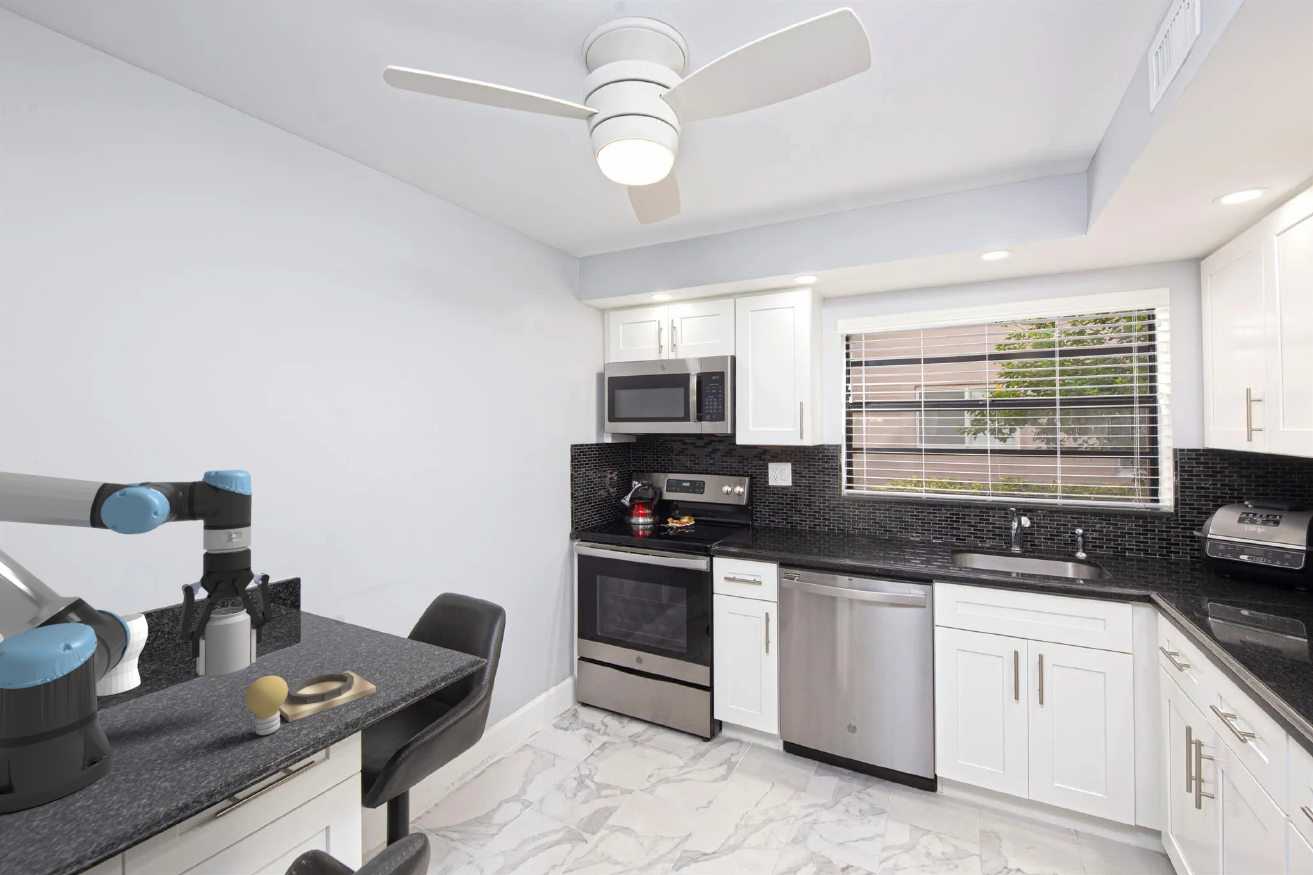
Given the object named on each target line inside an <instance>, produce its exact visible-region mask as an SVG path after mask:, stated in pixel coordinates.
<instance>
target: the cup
mask: <svg viewBox="0 0 1313 875" xmlns="http://www.w3.org/2000/svg"><path fill="white" fill-rule="evenodd" d="M118 615H119V616H120V617H121V618H123V620H124V621H125V622H126V623H127V625H128V627H129V630H130V644H129V647H128V649H127V651H126V653H125V655H124V657H123V658H122V660H121V661H120V662H119V664H118V665H117V666H116V667H115V668H113V669H112V670H111V671H110V672H108V673H107V674H106V675H105V676H104V677H103V678H102V679H101V680H100V681H99V682H98V683H97V697H105V696H110V695H111V696H112V695H116V694H120V693H124V692H127V691H130V690H132V689H134V688H137V687H139V686H140V684H141V678H140V674H139V668H138V663H139V656H140V654H141V652H142V651H143V650H144V647H145V644H146V642H147V638H148V637H149V636H148V635H149V631H148V630H149V626H148V622H147V620H146V616H145V614H143V613H139V612H138V613H134V612H133V613H122V614H118Z"/></svg>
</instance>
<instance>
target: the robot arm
mask: <svg viewBox="0 0 1313 875" xmlns="http://www.w3.org/2000/svg"><path fill="white" fill-rule="evenodd" d="M252 496H253V492H252V480H251V474H250V473H249V471H246V470H242V469H224V470H207V471H205V472H204V473H203V478H202V480H195V481H158V482H157V481H156V482H155V481H154V482H152V481H144V482H143V481H141V482H136V483H135V482H134V483H133V482H132V483H126V484H125V483H115V482H113V483H112V482H105V481H95V480H94V481H93V480H83V479H75V478H65V477H55V476H45V475H36V474H35V475H34V474H27V473H26V474H25V473H17V472H7V471H0V522H5V523H6V522H7V523H22V524H34V525H35V524H36V525H49V526H63V527H75V528H76V527H77V528H79V527H80V528H92V529H100V530H111V531H113V532H116V533H117V534H123V535H140V534H146V533H148V532H151V531H153V530H155V529H157V528H159V526H162V525H164V524H166V523H175V522H176V523H177V522H189V521H191V522H192V521H193V522H194V521H195V522H197V521H203V529H202V531H203V536H202V537H203V538H202V539H203V542H202V546H203V547H202V549H203V550H205V552H204V553H203V554H202V576H201V578H200V580H199V581H197V582H193V583H190V584H188V583H185V584H183V585H182V586H181V590H182V591H181V592H182V593H183V602H182V607H181V610H180V611H181V612H180V617H179V624H178V628H177V634H176V635H177V637H178V638H179V640H181V641H189V655H190V657H191V658H192V659H196V673H197V674H198V675H199V676H206V675H205V639H204V638H203V631H204V628H205V626H206V624H207V622H208V620H209V618H210V615H211V613H212V611H214V609H215V607H216V606H217V604H218V602H219V601H220V600H224V599H226V598H238V600H239V602H240V604H241V607H244V608H246V609H247V610H246V612H247V613H248V614H249V615H250V618H251V621H250V624H252V626H250V664H254V663H257V645H258V644H261V643H262V638H263V637H262V635H263V628H264V626H265V625H266V624H269V623H272V622H273V621H274V617H273V612H272V605H271V599H270V594H269V593H270V592H269V587H268V586H269V581H270V575H269V574H267V573H265V572H261V573H254V572H253V570H252V549H251V548H249V547H251V545H252V499H253V498H252ZM253 580H254V581H253ZM252 581H253V582H254V584H255V585H256V588H257V593H258V601H259V605H260V611H261V617H260V616H259V614H258V612H257V611H256V608H255V606H254V604H253V602H252V601H251V599H250V596H249V594H248V592H247V590H246V588H247V587H249V585H250V584H251V582H252ZM201 588H202V589H203V590H204V591H206V593H207V595H206V597H205V600H204V603H203V605H202V607H201V609H200V612H199V614H198V617H197V618H196V620H195V622H194V625H193V627H192V629H191V631H190V628H191V623H192V618H193V612H194V607H195V602H196V601H195V600H196V599H195V596H196V595H198V594H199V590H200V589H201ZM119 615H120V614H117V613H115V612H112V611H109V610H105V609H95V607H93V606H92V605H91V604H89V603H88V602H87V601H86V600H84V599H83V598H81V597H80V596H62V595H60V594H58V593H57V592H56V591H55V590H53V589H52V588H51V587H50V586H48V585H47V584H46V583H44V581H42V580H41V579H39V578H38V577H36V575H34V574H33V573H32V572H30V571H29V570H28V569H27V568H26V567H24V566H23V565H21V564H20V563H19V562H18V561H16V560H15V559H13V558H12V557H11V556H10V555H9V554H7V553H6V552H5V551H3V549H1V548H0V635H1V636H2V638H3V640H2V641H0V814H3V813H5V814H6V813H11V812H12V813H13V812H17V811H21V810H25V809H29V808H33V807H36V806H40V805H43V804H47V803H49V802H53V801H55V800H58V799H60V798H64V797H66V796H68V795H70V794H73V793H75V792H79V791H80V790H83V789H84V788H86V787H87V786H89V785H91V784H93V783H95V782H97V781H98V780H100V779H101V778H102V777H104V776H105V775H106V774H107V773H108V772H109V771H111V769H112V768H113V766H114V750H113V747H112V745H111V743H110V742H109V739H108V737H107V735H106V734H105V732H104V730H103V728H102V726H101V724H100V722H99V720H98V696H97V683H98V682H99V681H100V680H101V679H102V678H103V677H104V676H105V675H106V674H107V673H108V672H110V671H111V670H112V669H113V668H115V667H116V666H117V665H118V664H119V662H120V661H121V660H122V658H123V657H124V655H125V653H126V651H127V649H128V647H129V644H130V630H129V627H128V625H127V623H126V622H125V621H124V620H123V618H121V617H120V616H119Z"/></svg>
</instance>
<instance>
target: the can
mask: <svg viewBox="0 0 1313 875" xmlns="http://www.w3.org/2000/svg"><path fill="white" fill-rule="evenodd" d="M246 610H247V609H246V608H244V607H243V606H231V607H224V608H219V609H218V608H217V609H215V610H214V609H213V611H212V613H211V615H210V618H209V620H208V622H207V624H206V626H205V628H204V631H203V633H202V637H203V638H204V639H205V675H204V676H207V677H208V678H210V679H222V678H228V677H229V678H230V677H232V676H237V675H239V674H240V673H242V672H245V670H246V669H247V668H248V667H249V666H250V664H251V663H250V627H251V618H250V615H249V614H248V613H247V612H246Z"/></svg>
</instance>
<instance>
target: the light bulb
mask: <svg viewBox="0 0 1313 875" xmlns="http://www.w3.org/2000/svg"><path fill="white" fill-rule="evenodd" d="M288 689H289V687H288V683H287V682H286V680H284V678H282V677H280V676H278V675H265V676H262V677H260V678H258V679H256V680H254V681H253V682H252V683H251V684H250V685H249V687H248V688H247V690H246V693H245V703H246V706H247V708H248V709H249V710H250V711H251V712H252V713H253V714H255V715H256V716H255V718H254V720H255V721H254V722H255V726H254V727H255V733H256V734H257V735H259V736H267V735H271V734H273V733H275V732H277V730H278V729H280V727H281V718H280V717H281V716H280V715H281V714H280V712H279V711H278V710H279V708H280V707H281V706H282V704H283V703H284V701H285V699H286V697H287V694H288Z"/></svg>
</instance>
